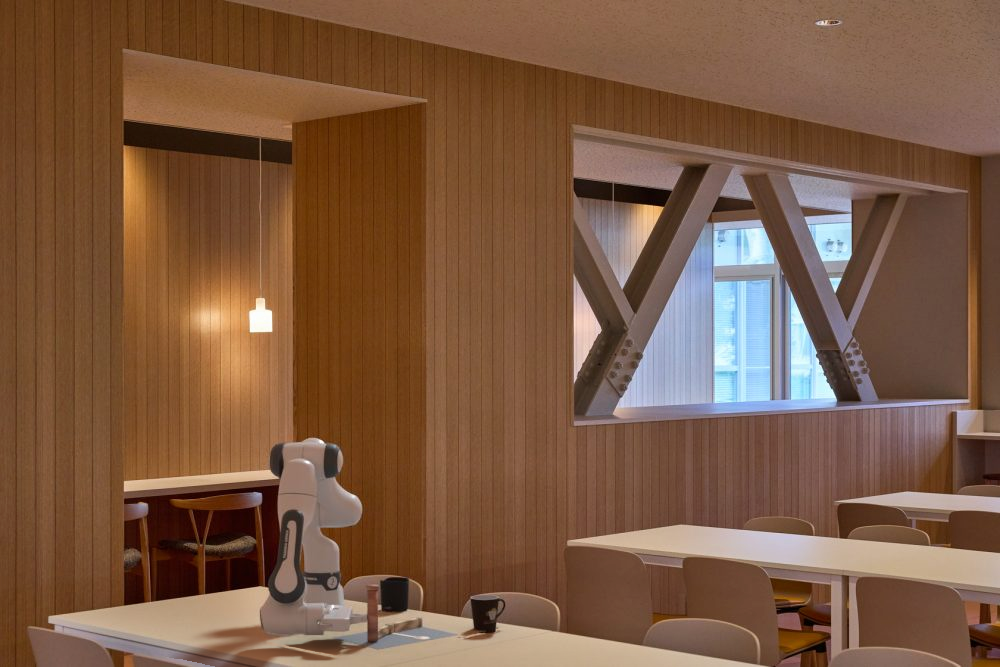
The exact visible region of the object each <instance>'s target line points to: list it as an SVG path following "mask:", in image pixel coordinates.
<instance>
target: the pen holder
mask: <svg viewBox="0 0 1000 667" xmlns="http://www.w3.org/2000/svg"><path fill="white" fill-rule="evenodd" d="M379 582H380V583H379V584H380V585H379V589H380V606H381V607H380V608H381V610H382V612H387V613H399V612H405V611H408V609H409V592H410V591H409V588H410V579H409V578H408V577H405V576H401V577H400V576H390V577H387V578H385V579H383V580H382V579H380V580H379Z"/></svg>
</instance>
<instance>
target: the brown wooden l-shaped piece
mask: <svg viewBox="0 0 1000 667" xmlns="http://www.w3.org/2000/svg"><path fill="white" fill-rule="evenodd" d="M365 588H366V603H367V606H366V609H367V610H366V611H367V612H366V613H367V614H366V615H367V622H366V623H367V624H366V625H367V631H366V632H367V641H369V642H376V641H378V639H379V638H381V637H383V636H385V635H386V634H388V633H389V626H387V625H386V626H385V625H384V626H382V627H380V628H379V589H380V585H379V584H366V586H365Z"/></svg>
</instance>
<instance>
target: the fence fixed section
mask: <svg viewBox="0 0 1000 667" xmlns="http://www.w3.org/2000/svg"><path fill="white" fill-rule="evenodd" d="M386 625H387V626H389V633H388V634H391V633H394V632H397V631H402V630H406V629H411V628H415V627H423V617H415V618H411V619H405V620H402V621H396V622H393V623H385V624H384V626H386Z"/></svg>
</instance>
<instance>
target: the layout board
mask: <svg viewBox="0 0 1000 667" xmlns="http://www.w3.org/2000/svg"><path fill="white" fill-rule="evenodd" d="M453 636H454V637H455V636H459V634H458V633H452V632H447V631H444V630H440V629H435V628H431V627H426V626H422V627H415V628H411V629H406V630H402V631H397V632H394V633H391V634H386V635H385V636H383V637H381V638H379V639H378V641H376V642H369V641H367V631H364V632H363V631H362V632H358V633H354V634H346V635H341V636H334V637H333V639H336V640H339V641H344V642H348V643H350V644H351V643H352V644H355V645H359V646H362V647H368V648H371V649H374V650H381V649H382V650H384V649H387V648H394V647H399V646H405V645H411V644H415V643H421V642H426V641H431V640H438V639H443V638H447V637H448V638H449V637H453ZM456 638H459V637H456Z"/></svg>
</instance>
